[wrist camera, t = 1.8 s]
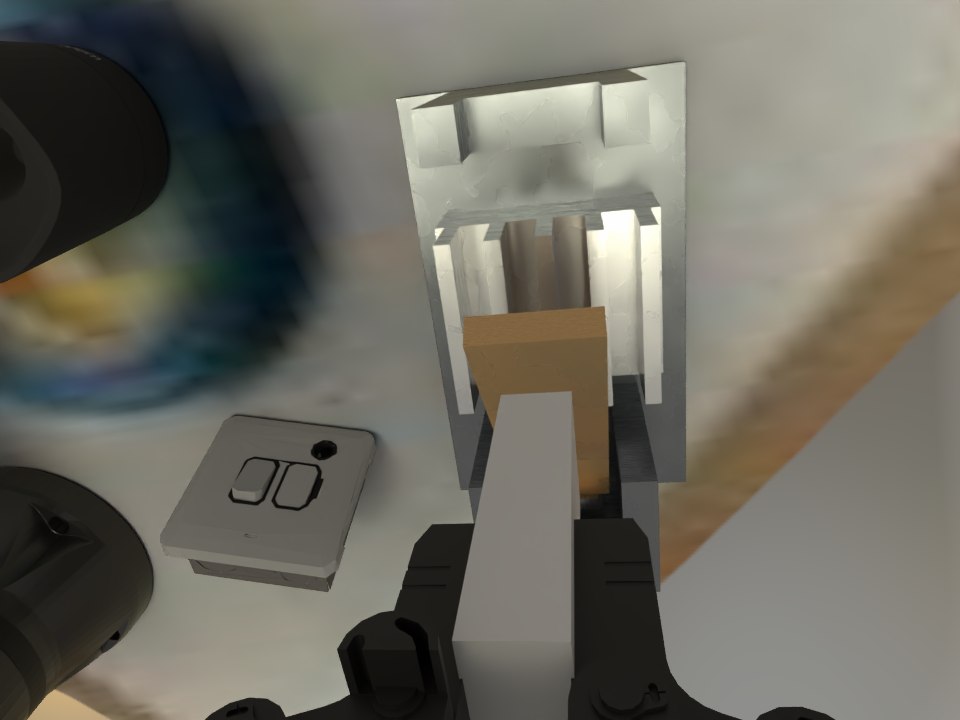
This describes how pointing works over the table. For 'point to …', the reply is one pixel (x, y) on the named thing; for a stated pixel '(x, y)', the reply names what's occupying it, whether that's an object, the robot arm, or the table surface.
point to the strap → (550, 376)
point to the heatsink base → (565, 167)
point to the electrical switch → (271, 502)
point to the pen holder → (70, 151)
